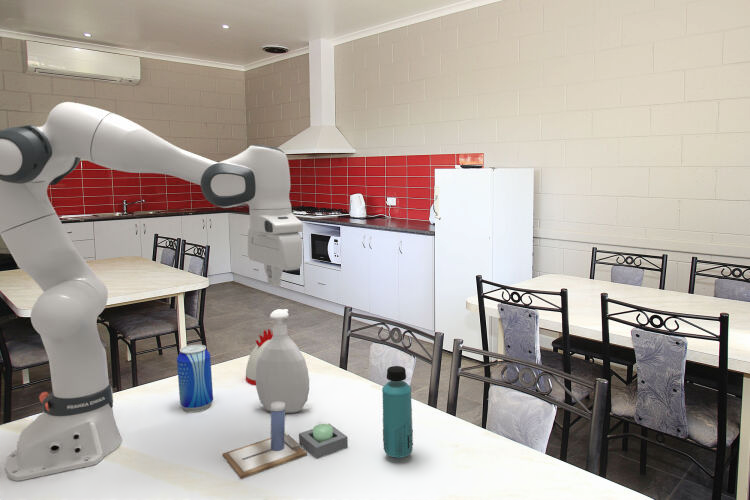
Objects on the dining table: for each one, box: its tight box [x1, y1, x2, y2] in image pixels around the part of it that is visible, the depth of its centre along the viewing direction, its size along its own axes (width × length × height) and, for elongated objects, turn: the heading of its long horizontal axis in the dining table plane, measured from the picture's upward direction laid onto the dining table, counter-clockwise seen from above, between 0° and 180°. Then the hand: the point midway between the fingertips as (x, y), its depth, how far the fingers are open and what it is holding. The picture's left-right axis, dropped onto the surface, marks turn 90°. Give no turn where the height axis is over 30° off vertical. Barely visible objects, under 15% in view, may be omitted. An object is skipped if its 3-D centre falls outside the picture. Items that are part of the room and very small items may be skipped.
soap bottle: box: [255, 308, 310, 414], centre depth 137 cm, size 14×8×27 cm, turn 79°
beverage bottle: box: [381, 365, 414, 458], centre depth 113 cm, size 6×7×20 cm
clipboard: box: [221, 433, 308, 479], centre depth 116 cm, size 15×11×1 cm
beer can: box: [176, 344, 214, 412], centre depth 141 cm, size 8×8×16 cm
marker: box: [270, 401, 286, 451], centre depth 117 cm, size 3×3×10 cm
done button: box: [312, 423, 334, 443], centre depth 120 cm, size 4×4×4 cm
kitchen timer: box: [245, 328, 273, 387], centre depth 160 cm, size 14×14×15 cm
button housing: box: [298, 423, 349, 459], centre depth 120 cm, size 8×8×2 cm
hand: (274, 285), depth 115 cm, fingers closed
